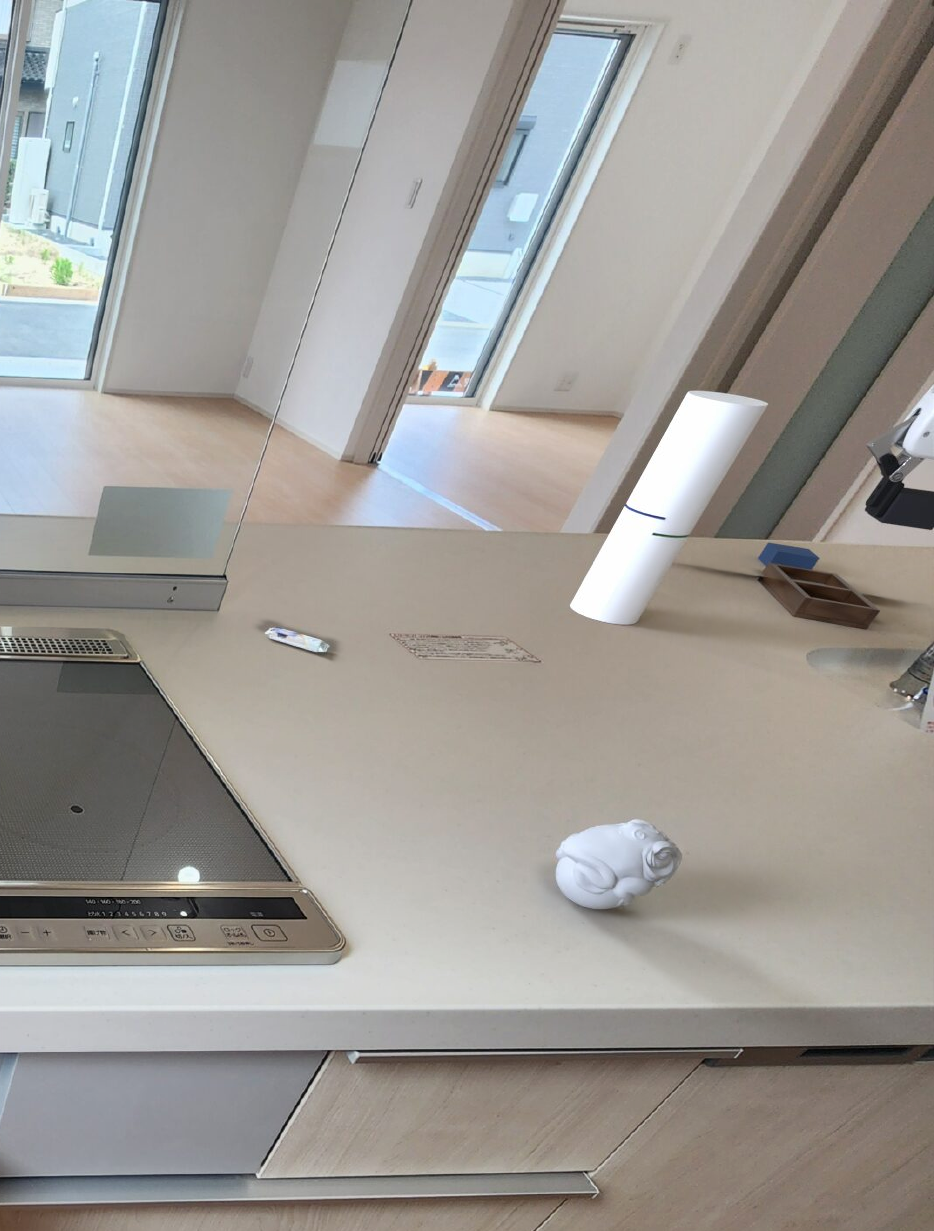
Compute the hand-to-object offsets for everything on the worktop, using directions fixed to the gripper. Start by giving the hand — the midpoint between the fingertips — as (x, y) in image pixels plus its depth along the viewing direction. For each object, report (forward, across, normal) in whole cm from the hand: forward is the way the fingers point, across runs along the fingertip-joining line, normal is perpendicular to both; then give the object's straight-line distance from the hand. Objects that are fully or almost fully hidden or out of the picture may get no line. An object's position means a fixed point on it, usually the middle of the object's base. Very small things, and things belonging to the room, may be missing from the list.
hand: (902, 516), depth 113 cm
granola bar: (+13, -62, -46) cm, 79 cm away
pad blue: (+13, 0, +19) cm, 23 cm away
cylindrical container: (+13, -27, -14) cm, 33 cm away
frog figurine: (+13, -41, -84) cm, 94 cm away
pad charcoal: (+1, 0, 0) cm, 1 cm away
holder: (+13, 0, +6) cm, 15 cm away
